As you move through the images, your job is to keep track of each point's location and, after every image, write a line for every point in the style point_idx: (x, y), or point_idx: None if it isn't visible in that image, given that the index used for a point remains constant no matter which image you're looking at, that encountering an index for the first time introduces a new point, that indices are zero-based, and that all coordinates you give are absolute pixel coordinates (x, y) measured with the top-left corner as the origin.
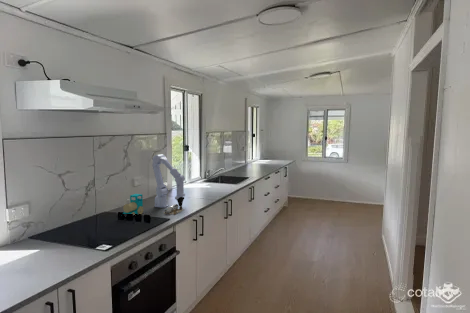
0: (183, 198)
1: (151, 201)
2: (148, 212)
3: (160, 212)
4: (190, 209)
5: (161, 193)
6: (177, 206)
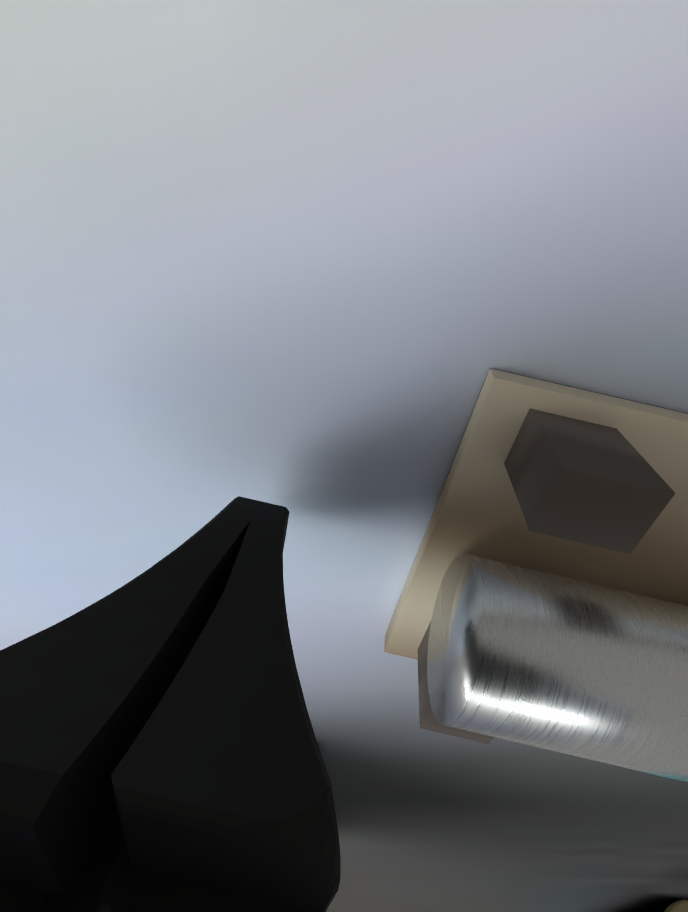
0: (50, 750)
1: None
2: (607, 858)
3: None
4: (431, 65)
5: None
6: (552, 614)
